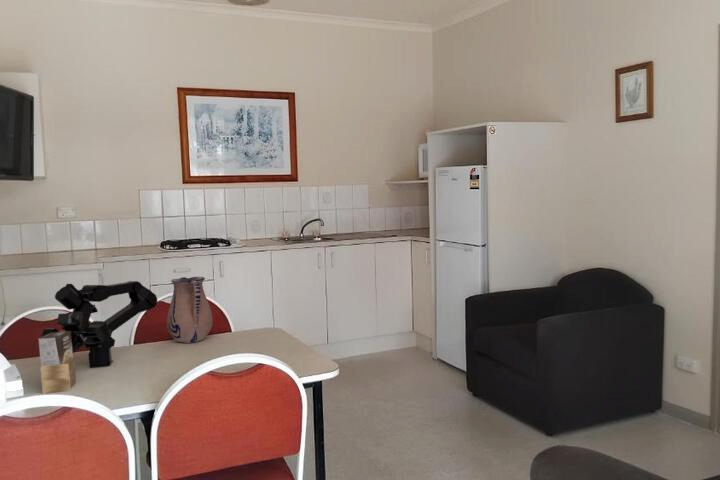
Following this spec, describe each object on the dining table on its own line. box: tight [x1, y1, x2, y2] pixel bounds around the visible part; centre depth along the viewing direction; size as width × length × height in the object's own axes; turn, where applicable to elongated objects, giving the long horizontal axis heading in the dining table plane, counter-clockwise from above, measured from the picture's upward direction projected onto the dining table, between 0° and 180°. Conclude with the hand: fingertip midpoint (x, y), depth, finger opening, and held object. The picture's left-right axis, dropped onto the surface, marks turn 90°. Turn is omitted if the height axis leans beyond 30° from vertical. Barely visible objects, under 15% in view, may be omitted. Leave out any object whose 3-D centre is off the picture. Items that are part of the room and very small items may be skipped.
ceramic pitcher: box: [166, 276, 214, 344], centre depth 244 cm, size 18×21×25 cm
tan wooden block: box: [39, 356, 77, 394], centre depth 188 cm, size 8×9×8 cm
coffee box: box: [37, 330, 74, 367], centre depth 191 cm, size 9×6×16 cm
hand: (64, 358), depth 195 cm, fingers closed
